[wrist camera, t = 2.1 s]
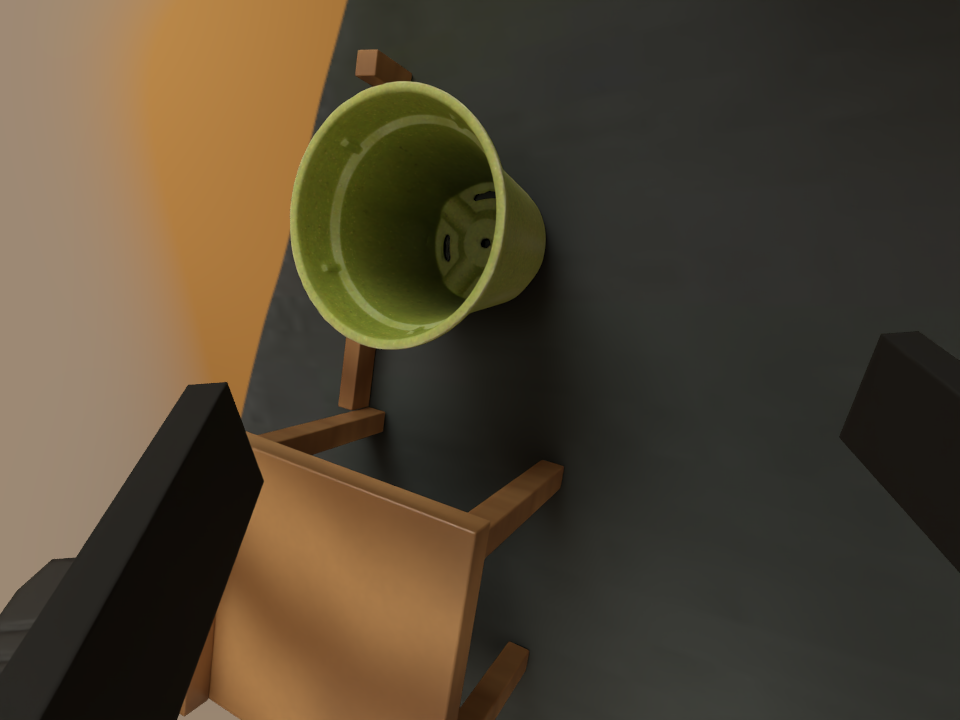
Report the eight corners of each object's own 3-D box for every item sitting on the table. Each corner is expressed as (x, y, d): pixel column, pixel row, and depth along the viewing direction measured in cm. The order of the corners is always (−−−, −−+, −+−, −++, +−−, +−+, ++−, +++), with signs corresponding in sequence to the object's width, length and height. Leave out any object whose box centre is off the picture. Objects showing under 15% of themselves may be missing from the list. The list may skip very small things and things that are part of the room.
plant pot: (416, 343, 30) (299, 355, 22) (402, 167, 29) (277, 115, 22) (586, 332, 26) (514, 342, 18) (572, 127, 25) (494, 46, 18)
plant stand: (393, 73, 29) (207, -51, 19) (641, 71, 24) (562, -102, 14) (331, 583, 34) (156, 698, 24) (526, 678, 29) (406, 876, 19)
